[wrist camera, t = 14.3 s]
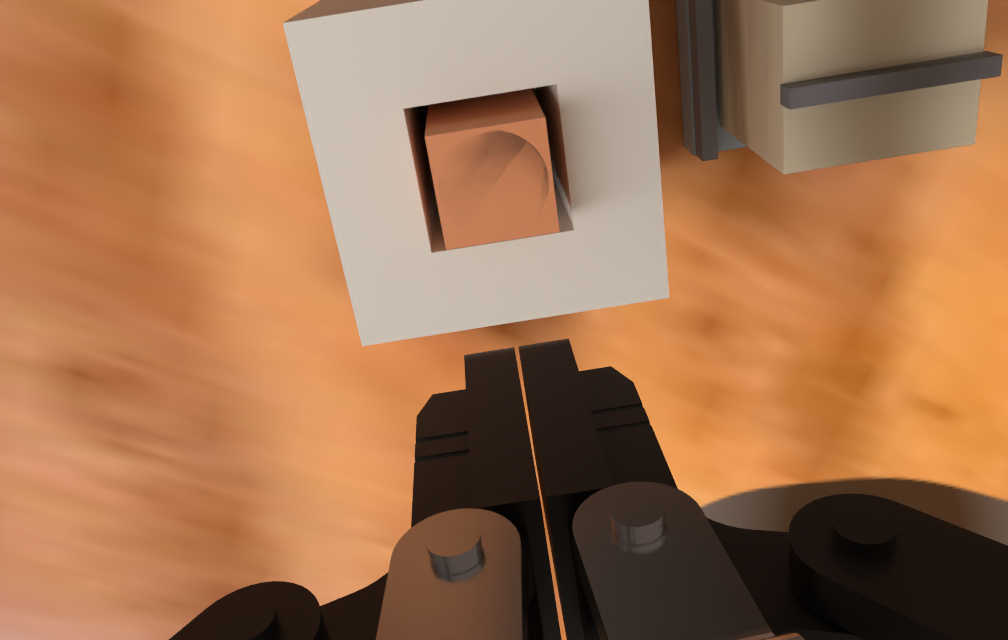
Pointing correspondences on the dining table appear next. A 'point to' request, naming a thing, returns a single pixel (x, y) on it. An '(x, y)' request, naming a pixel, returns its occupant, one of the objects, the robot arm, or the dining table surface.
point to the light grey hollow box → (406, 168)
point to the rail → (700, 80)
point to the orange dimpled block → (491, 168)
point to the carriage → (850, 77)
